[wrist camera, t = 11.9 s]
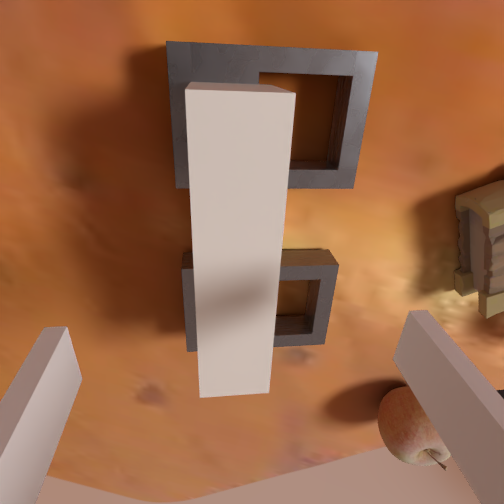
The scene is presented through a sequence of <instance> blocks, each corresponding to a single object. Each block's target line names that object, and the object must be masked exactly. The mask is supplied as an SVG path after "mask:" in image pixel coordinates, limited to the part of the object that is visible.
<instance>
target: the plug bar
mask: <svg viewBox="0 0 504 504" xmlns="http://www.w3.org/2000/svg"><path fill="white" fill-rule="evenodd" d="M295 98H296V93H294V92H291V91H288V90H285V89H282V88H279V87H276V86H273V85H266V84H239V83H212V82H190V83H189V85H188V86H187V87H186V89H185V102H186V122H187V143H188V163H189V184H190V204H191V225H192V245H193V266H194V286H195V307H196V327H197V348H198V368H199V389H200V398H202V397H216V396H230V395H244V394H258V393H269V386H270V375H271V364H272V353H273V342H274V331H275V320H276V309H277V297H278V286H279V275H280V264H281V253H282V242H283V231H284V220H285V209H286V198H287V187H288V176H289V165H290V154H291V143H292V131H293V120H294V109H295Z"/></svg>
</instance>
